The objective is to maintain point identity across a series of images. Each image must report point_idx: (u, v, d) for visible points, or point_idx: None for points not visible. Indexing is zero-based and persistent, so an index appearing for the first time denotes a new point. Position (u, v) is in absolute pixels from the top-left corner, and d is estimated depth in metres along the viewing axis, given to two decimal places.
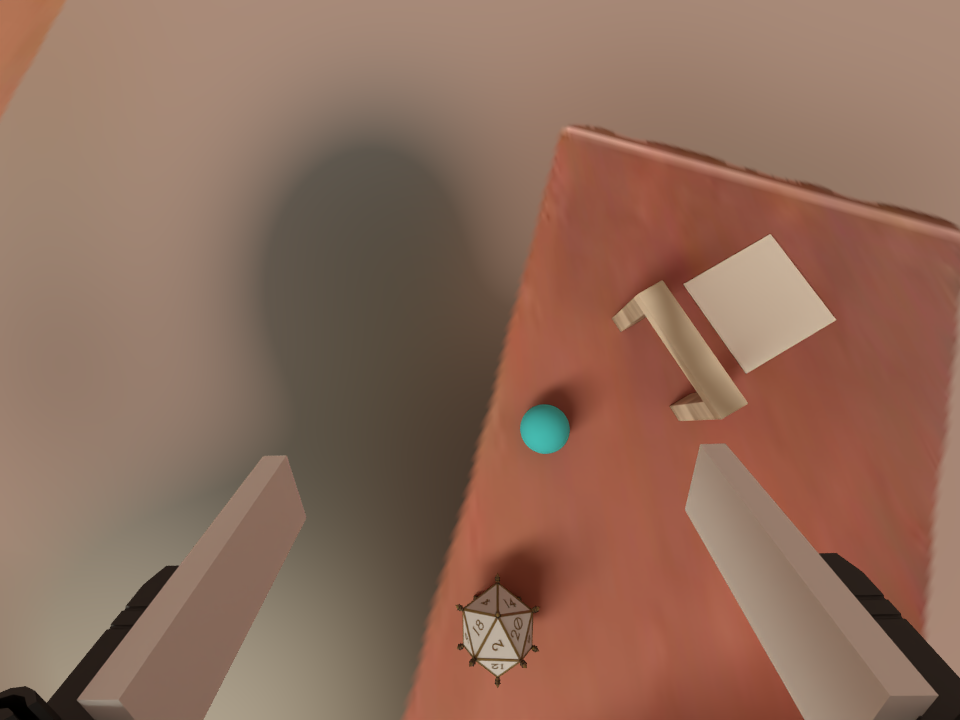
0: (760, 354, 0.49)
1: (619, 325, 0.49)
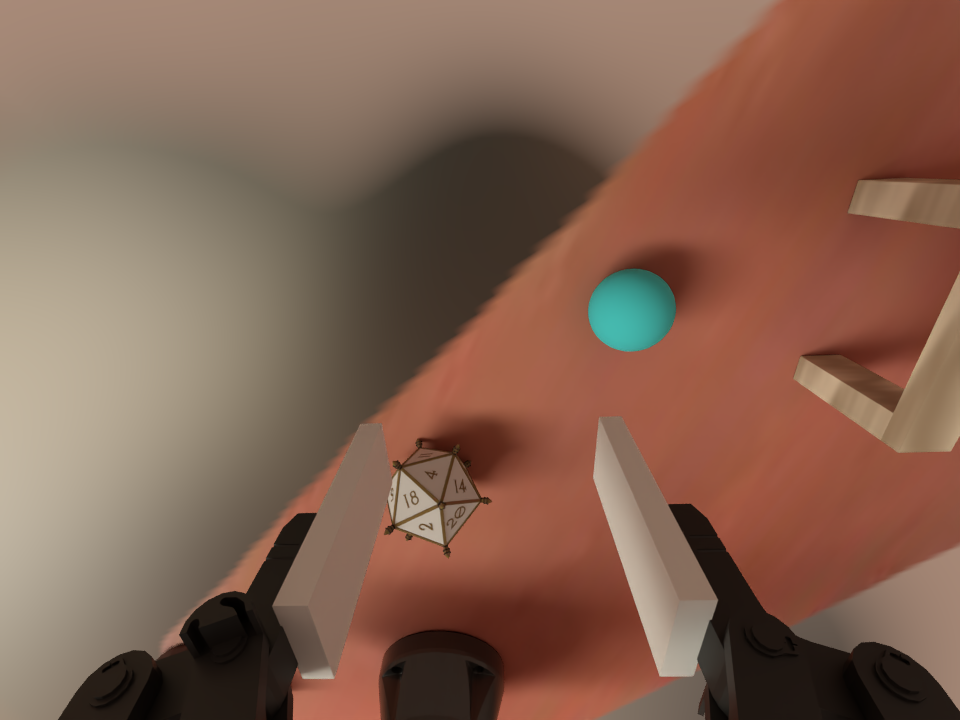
0: None
1: (861, 202, 0.26)
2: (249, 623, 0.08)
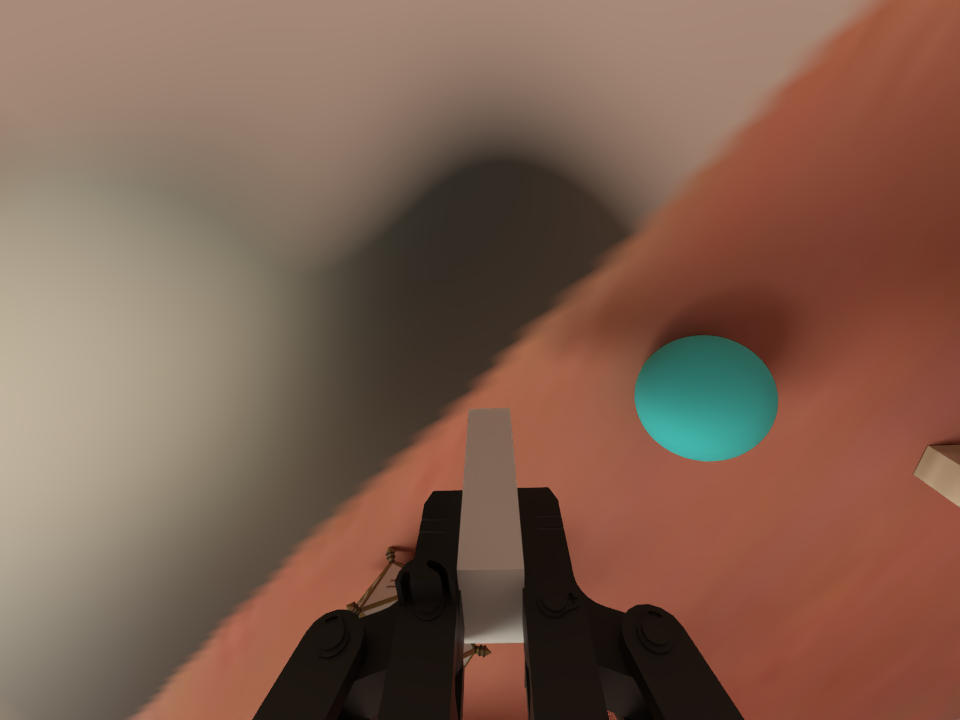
0: None
1: None
2: (445, 590, 0.09)
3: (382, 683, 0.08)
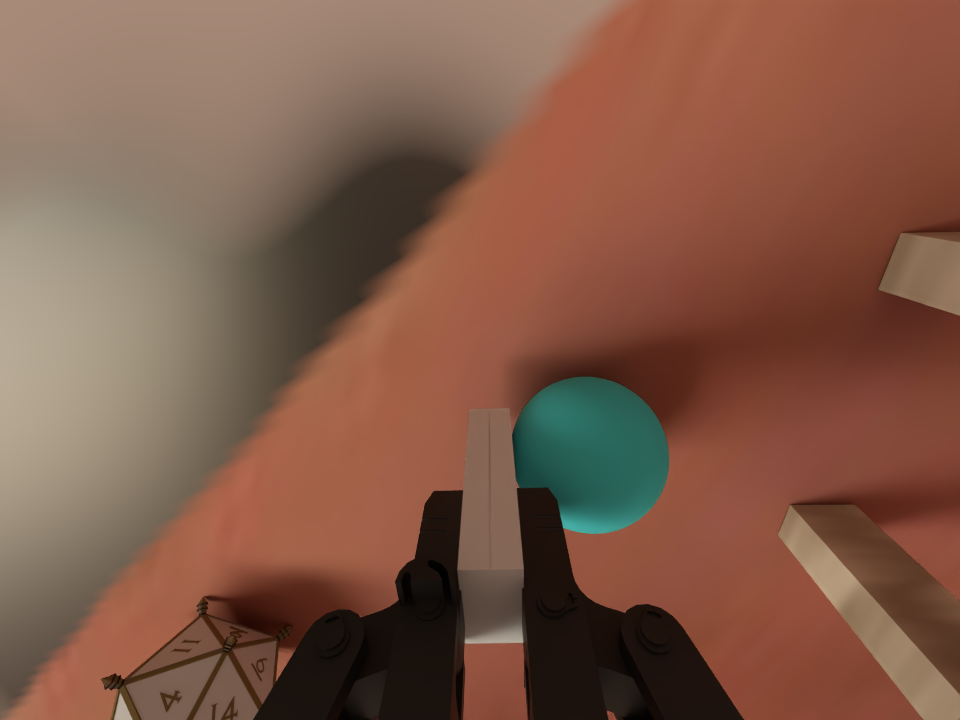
0: None
1: (907, 275, 0.14)
2: (445, 590, 0.09)
3: (383, 683, 0.08)
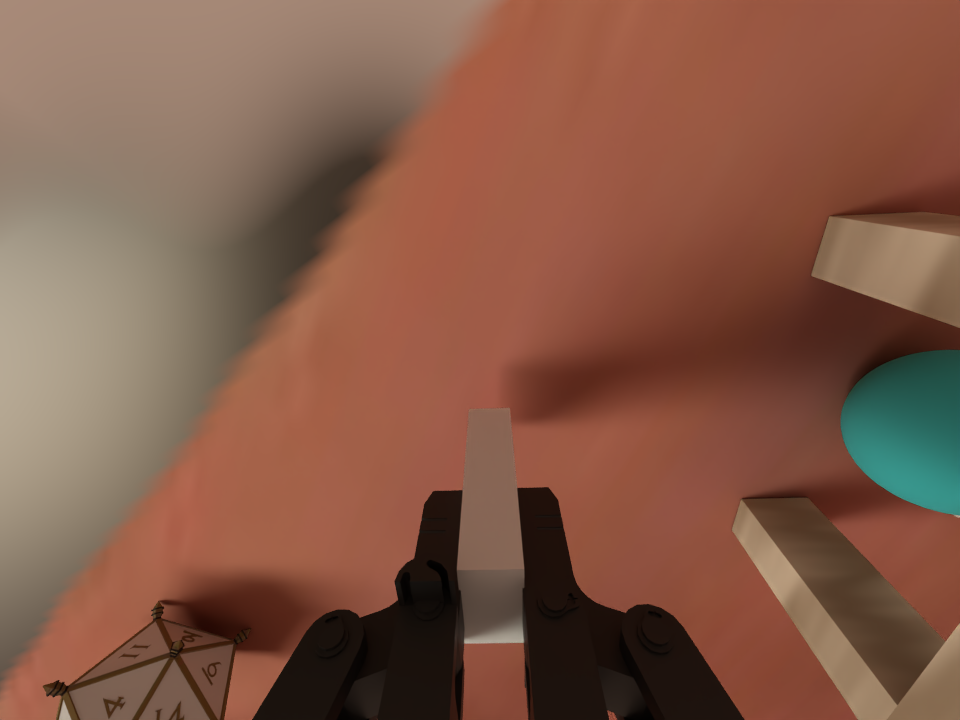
0: None
1: (835, 259, 0.13)
2: (445, 590, 0.09)
3: (381, 682, 0.08)
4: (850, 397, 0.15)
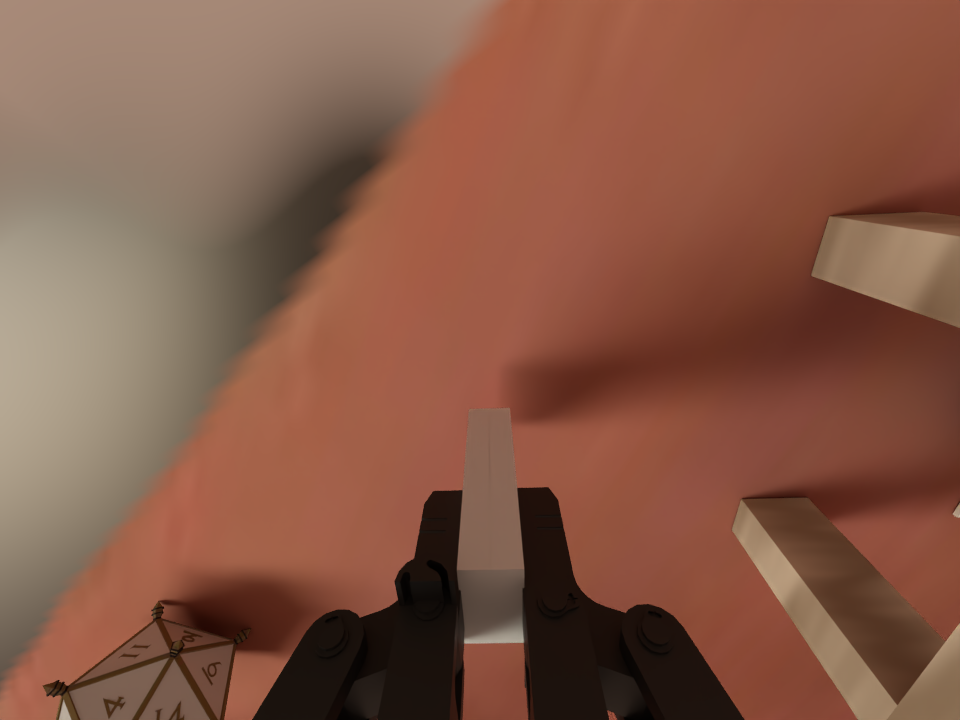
0: None
1: (835, 259, 0.13)
2: (445, 590, 0.09)
3: (381, 682, 0.08)
4: None
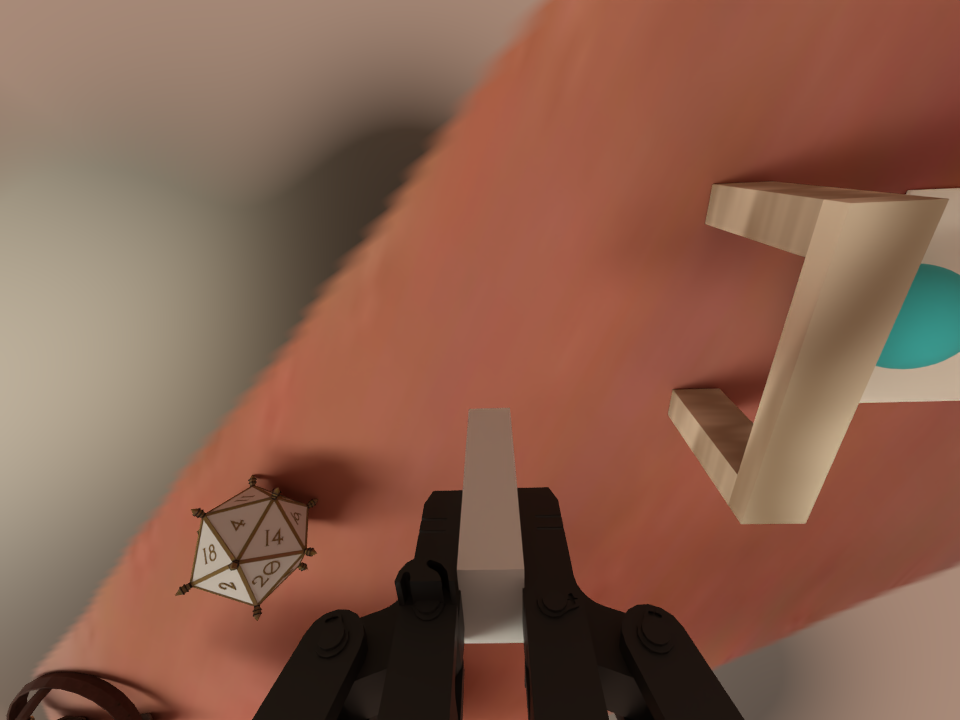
0: (875, 387, 0.26)
1: (715, 211, 0.21)
2: (445, 590, 0.09)
3: (382, 682, 0.08)
4: (950, 326, 0.19)
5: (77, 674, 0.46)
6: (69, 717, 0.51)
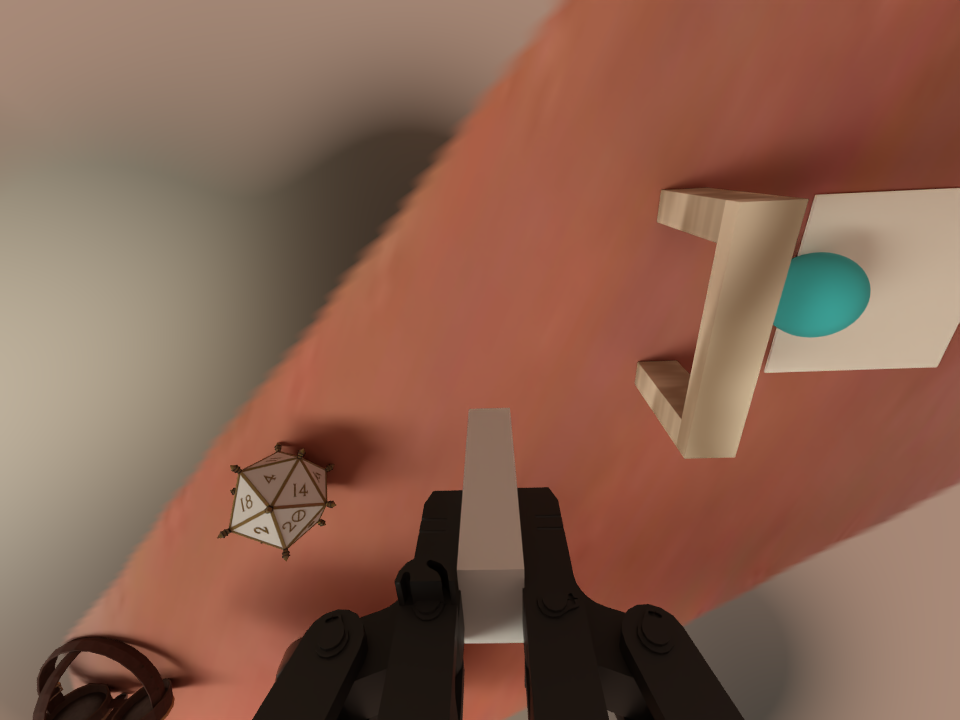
0: (805, 358, 0.31)
1: (663, 211, 0.26)
2: (445, 590, 0.09)
3: (382, 682, 0.08)
4: (842, 300, 0.24)
5: (104, 638, 0.49)
6: (92, 684, 0.54)
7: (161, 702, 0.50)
